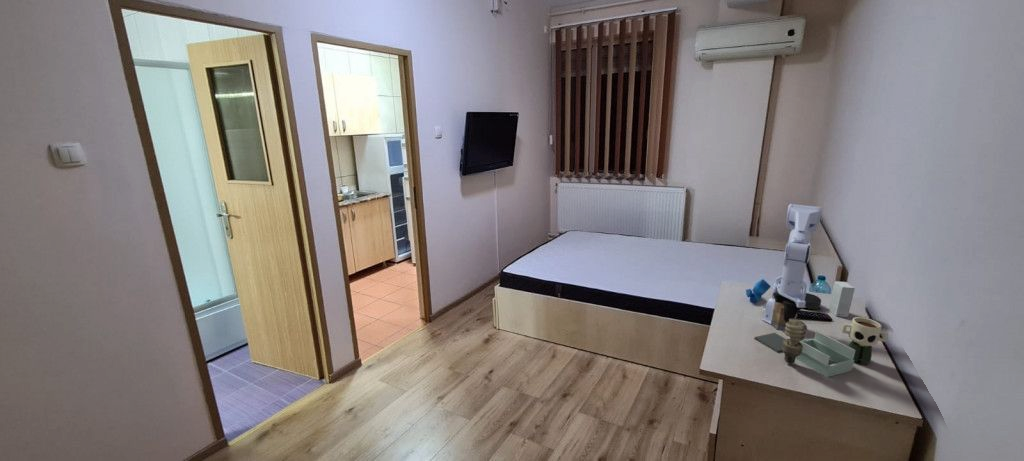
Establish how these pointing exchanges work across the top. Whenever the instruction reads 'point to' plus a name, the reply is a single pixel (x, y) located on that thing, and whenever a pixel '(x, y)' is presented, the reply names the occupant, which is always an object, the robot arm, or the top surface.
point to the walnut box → (778, 317)
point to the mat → (771, 341)
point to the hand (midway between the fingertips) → (784, 317)
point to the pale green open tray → (826, 355)
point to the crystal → (757, 291)
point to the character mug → (864, 337)
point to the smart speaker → (812, 301)
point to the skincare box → (841, 299)
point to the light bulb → (793, 339)
